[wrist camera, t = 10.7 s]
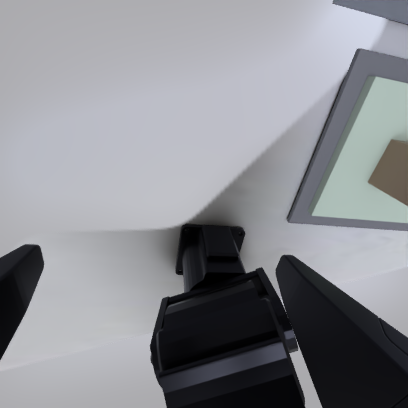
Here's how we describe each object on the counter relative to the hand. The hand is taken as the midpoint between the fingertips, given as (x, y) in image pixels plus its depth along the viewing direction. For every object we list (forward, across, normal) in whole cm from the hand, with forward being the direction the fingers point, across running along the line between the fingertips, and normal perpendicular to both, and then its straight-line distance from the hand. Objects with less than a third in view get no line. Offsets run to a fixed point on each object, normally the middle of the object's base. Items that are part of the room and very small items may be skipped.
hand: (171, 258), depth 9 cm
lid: (+12, -20, -2) cm, 23 cm away
